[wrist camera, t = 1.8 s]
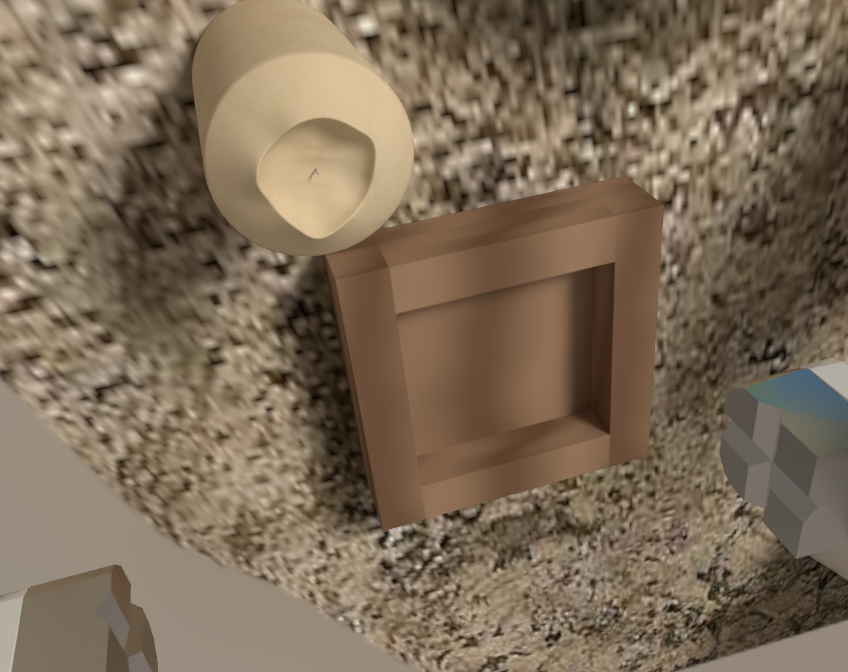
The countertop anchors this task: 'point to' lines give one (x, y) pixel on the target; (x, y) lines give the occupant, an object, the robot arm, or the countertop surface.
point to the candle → (297, 129)
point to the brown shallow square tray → (500, 345)
